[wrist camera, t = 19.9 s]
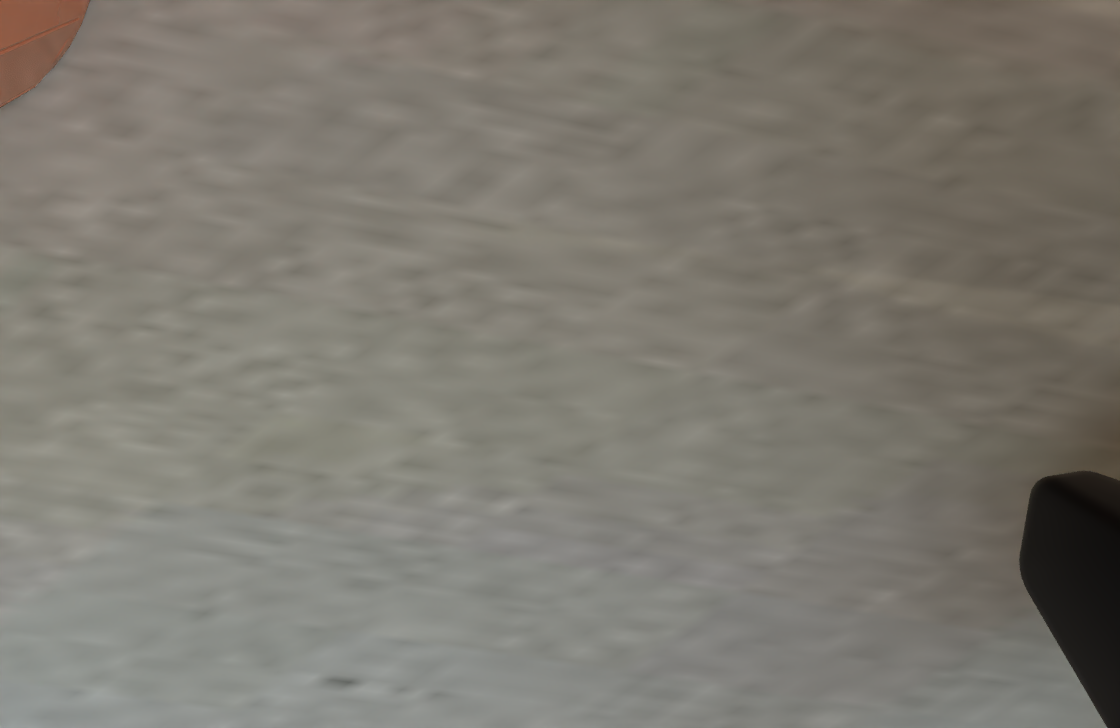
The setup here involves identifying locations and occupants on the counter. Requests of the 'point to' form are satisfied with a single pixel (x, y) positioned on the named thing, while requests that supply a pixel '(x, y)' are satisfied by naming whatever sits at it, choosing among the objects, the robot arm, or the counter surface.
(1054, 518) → the robot arm
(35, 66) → the cup
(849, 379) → the counter surface
